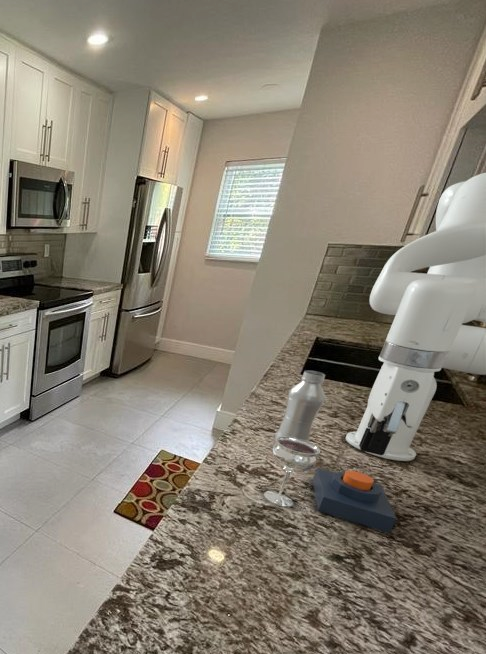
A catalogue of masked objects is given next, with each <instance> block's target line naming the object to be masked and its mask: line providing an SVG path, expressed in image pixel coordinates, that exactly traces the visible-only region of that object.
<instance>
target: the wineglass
mask: <svg viewBox="0 0 486 654" xmlns="http://www.w3.org/2000/svg"><path fill="white" fill-rule="evenodd" d="M276 441H277V443H276V444H275V445H273V446H272V449H271V453H272V458H273V460H274V461H275V462H276V464H278V466H280V467H281V468H282V469H283V471H285V472H284V475H283V478H282V482H281V485H280V488H279V491H272V490H267V491H264V493H263V496H264V498H265V499H267V500H268V501H269V502H271V503H272V504H275V505H278V506H281V507H292V506H293V505H294V501H293V500H292V498H290V497H289V496H287V495H285V494H283V491H284V489H285V488H286V484H287V482H288V480H289V478H290V475H291V474H292V473H302V472H306V471H309V470H312V469H313V468H314V467H315V466H316V464H317V462H318V455H319V454H320V453H321V449H320V447H318V446H317V445H316V444H314V443H312V442H311V441H309V442H308V441H305V440H302V439H299V438H295V437H289V436H280V437H277V438H276Z"/></svg>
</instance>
